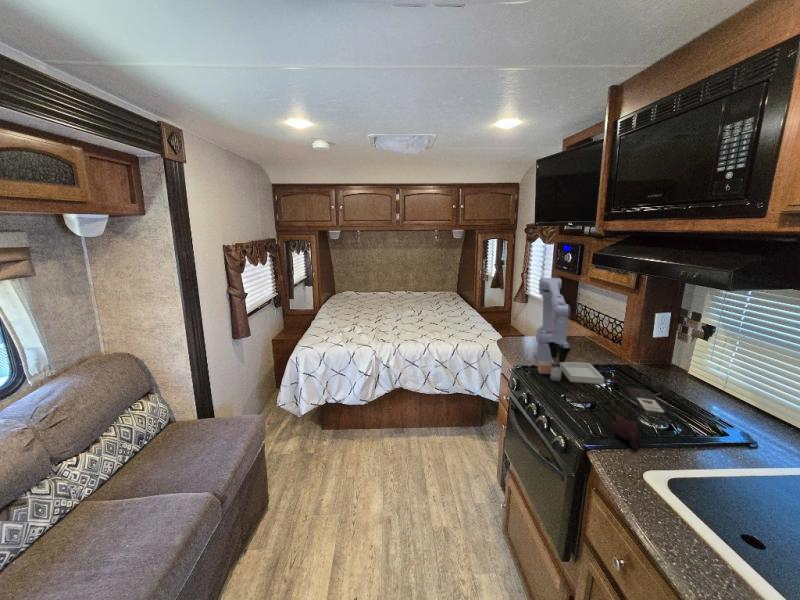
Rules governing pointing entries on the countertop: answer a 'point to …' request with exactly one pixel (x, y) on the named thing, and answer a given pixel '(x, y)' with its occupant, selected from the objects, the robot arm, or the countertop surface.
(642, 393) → the chocolate bar
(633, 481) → the countertop surface
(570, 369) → the tray
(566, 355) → the robot arm
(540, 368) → the carton
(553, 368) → the tin
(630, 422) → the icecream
